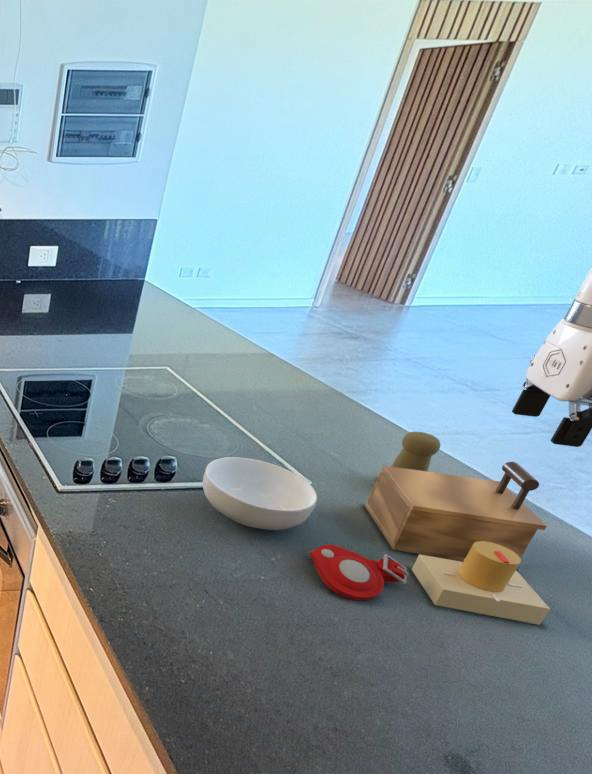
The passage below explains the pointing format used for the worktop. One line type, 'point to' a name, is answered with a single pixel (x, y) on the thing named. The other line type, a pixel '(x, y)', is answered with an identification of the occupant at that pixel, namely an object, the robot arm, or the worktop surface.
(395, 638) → the worktop surface
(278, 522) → the cereal bowl
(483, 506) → the hinged box cover
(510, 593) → the lock plate
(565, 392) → the robot arm
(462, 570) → the lock knob
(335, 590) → the tracker holder
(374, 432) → the worktop surface
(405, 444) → the cork
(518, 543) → the chest
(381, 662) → the worktop surface
